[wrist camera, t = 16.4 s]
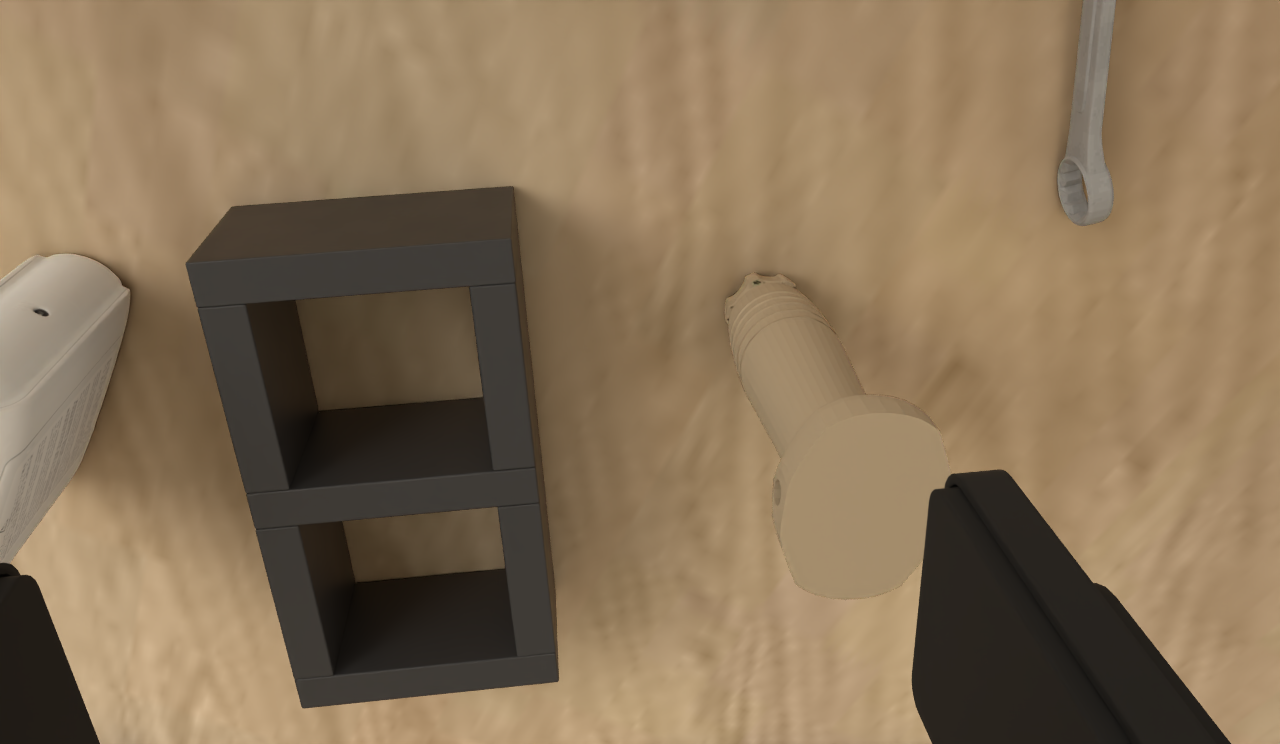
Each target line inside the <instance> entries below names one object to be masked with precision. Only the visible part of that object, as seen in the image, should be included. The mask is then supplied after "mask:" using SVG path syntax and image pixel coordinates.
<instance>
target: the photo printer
mask: <svg viewBox="0 0 1280 744" xmlns="http://www.w3.org/2000/svg"><path fill="white" fill-rule="evenodd" d="M129 307H130V289H128V288H126V287H123V286H122V284H121V281H120V279H119V278H118V277H117V276H116V275H115V274H114V273H113V272H112V271H111V270H110V269H108V268H107V267H106V266H104V265H103V264H101V263H99V262H97V261H95V260H93V259H91V258H88V257H85V256H81V255H77V254H54V255H51V256H49V257H43V256H41V255H34V256H32V257H30V258H29V259H27V260H26V261H24V262H23V263H21V264H20V265H19V266H17V267H16V268H15V269H14V270H12V271H11V272H10V273H8V274H7V275H6V276H5V277H3V278H2V279H1V280H0V563H8V564H10V562H11V561H12V560H13V558H14V557H15V555H16V554H17V553H18V551H19V550H20V549H21V547H22V546H23V544H24V543H25V542H26V540H27V539H28V538H29V536H30V535H31V534H32V532H33V531H34V529H35V528H36V527H37V525H38V524H39V523H40V521H41V520H42V519H43V517H44V516H45V514H46V513H47V512H48V510H49V509H50V508H51V506H52V505H53V504H54V502H55V501H56V499H57V498H58V497H59V495H60V494H61V493H62V491H63V490H64V489H65V487H66V486H67V484H68V483H69V482H70V480H71V479H72V477H73V476H74V474H75V472H76V471H77V469H78V467H79V465H80V463H81V461H82V459H83V457H84V454H85V451H86V449H87V446H88V444H89V441H90V438H91V436H92V433H93V431H94V428H95V424H96V421H97V418H98V415H99V412H100V409H101V406H102V403H103V400H104V397H105V394H106V391H107V388H108V385H109V382H110V378H111V375H112V372H113V369H114V366H115V362H116V359H117V355H118V352H119V349H120V345H121V342H122V338H123V335H124V331H125V327H126V323H127V318H128V313H129Z"/></svg>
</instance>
